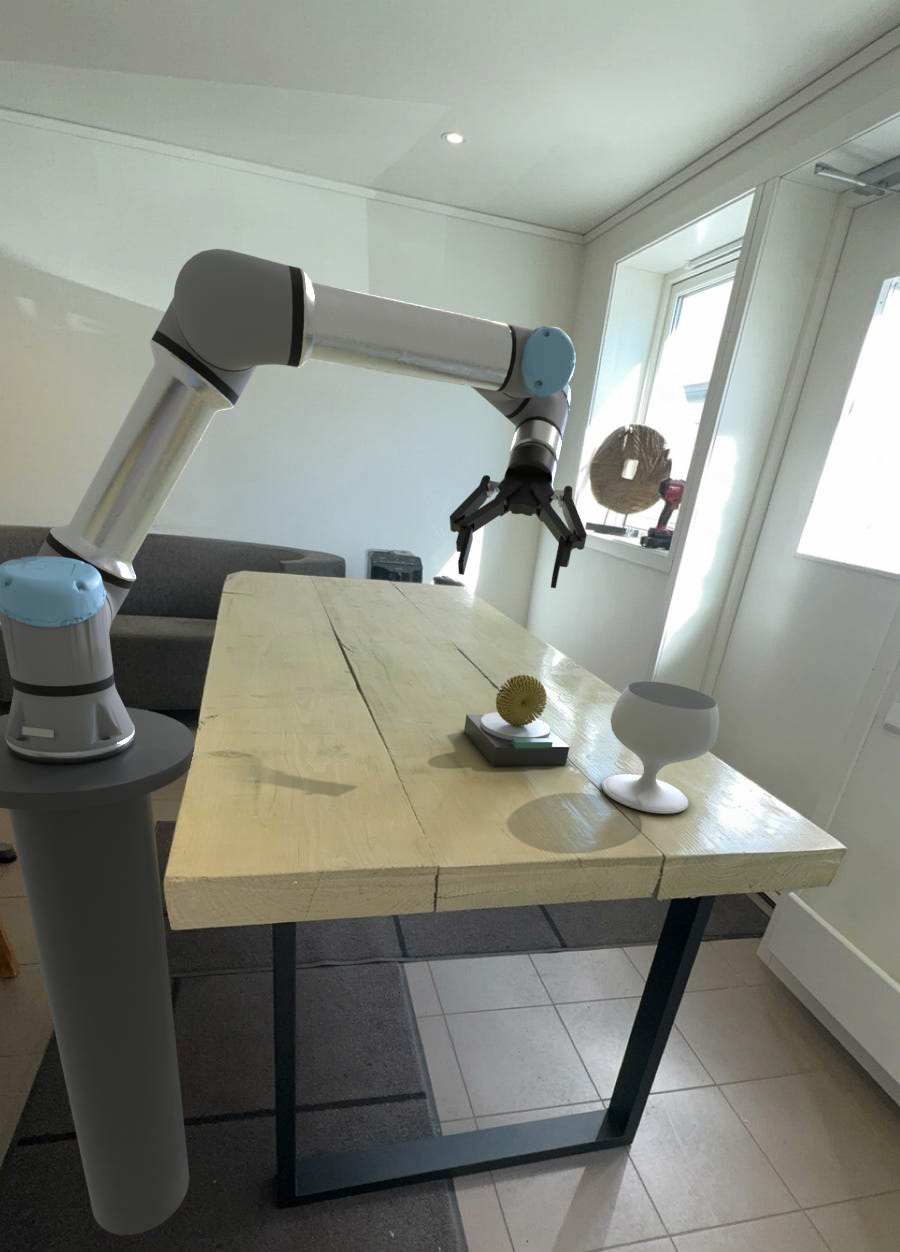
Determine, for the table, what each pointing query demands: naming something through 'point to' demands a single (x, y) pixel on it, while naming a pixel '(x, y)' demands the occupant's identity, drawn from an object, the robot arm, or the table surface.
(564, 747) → the scale
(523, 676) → the sculpture
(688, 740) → the chalice
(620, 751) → the table surface
